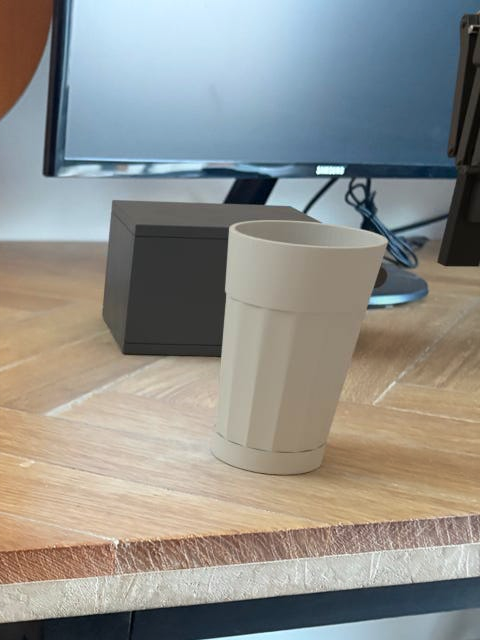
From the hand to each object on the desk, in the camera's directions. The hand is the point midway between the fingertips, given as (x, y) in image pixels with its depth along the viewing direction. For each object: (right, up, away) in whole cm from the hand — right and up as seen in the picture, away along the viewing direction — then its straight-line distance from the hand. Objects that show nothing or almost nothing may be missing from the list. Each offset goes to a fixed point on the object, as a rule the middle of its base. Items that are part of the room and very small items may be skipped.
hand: (457, 264), depth 78 cm
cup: (-21, -19, -20) cm, 34 cm away
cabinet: (-20, -5, +2) cm, 20 cm away
